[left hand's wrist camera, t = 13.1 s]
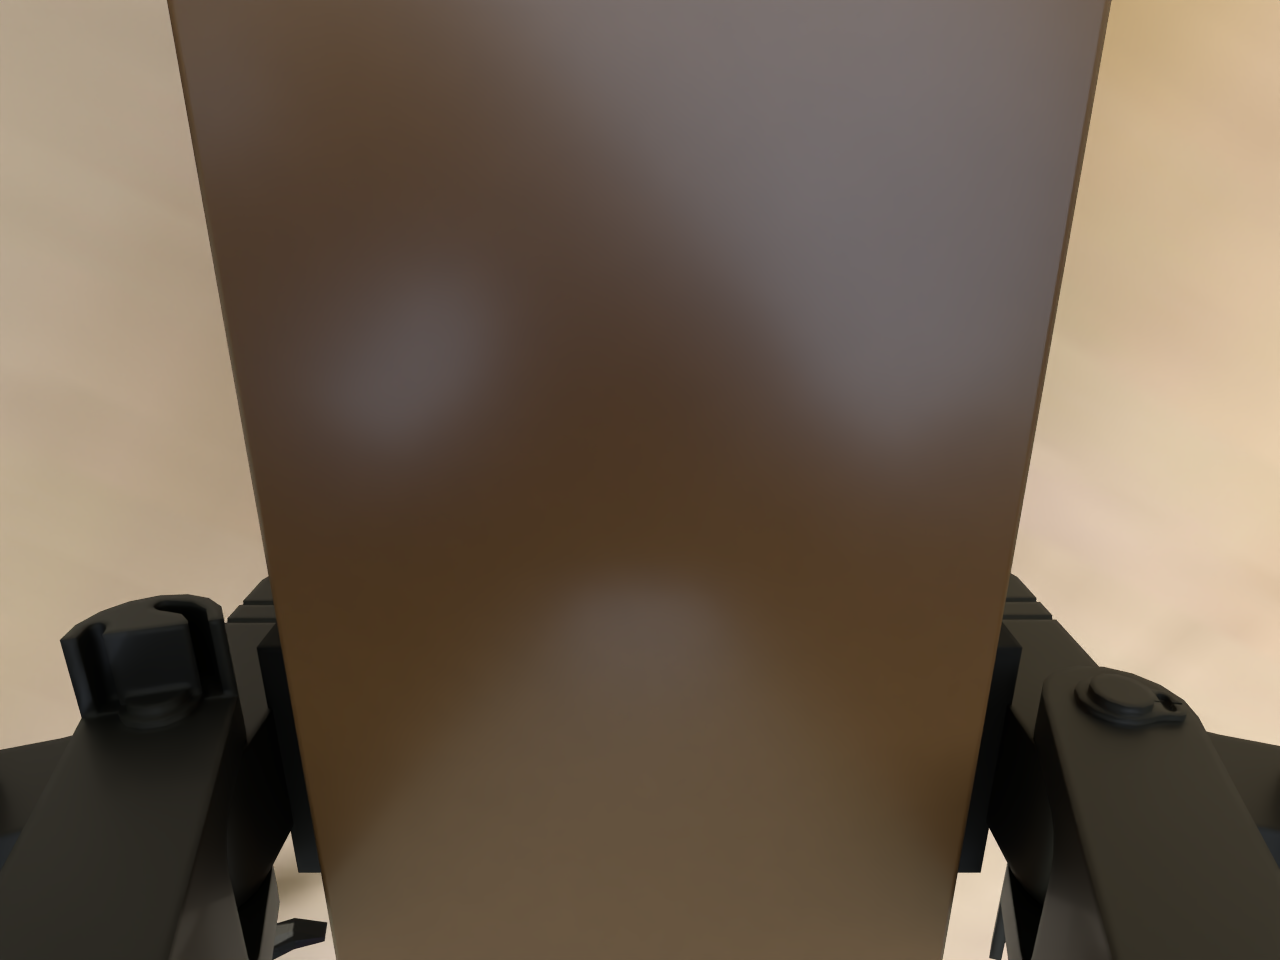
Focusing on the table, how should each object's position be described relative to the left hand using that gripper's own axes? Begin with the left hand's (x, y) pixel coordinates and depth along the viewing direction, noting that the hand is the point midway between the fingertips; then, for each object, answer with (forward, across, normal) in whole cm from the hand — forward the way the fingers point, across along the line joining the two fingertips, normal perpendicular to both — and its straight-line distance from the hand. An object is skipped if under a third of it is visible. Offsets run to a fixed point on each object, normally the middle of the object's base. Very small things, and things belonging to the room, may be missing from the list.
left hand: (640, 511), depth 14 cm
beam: (+1, 0, -22) cm, 22 cm away
